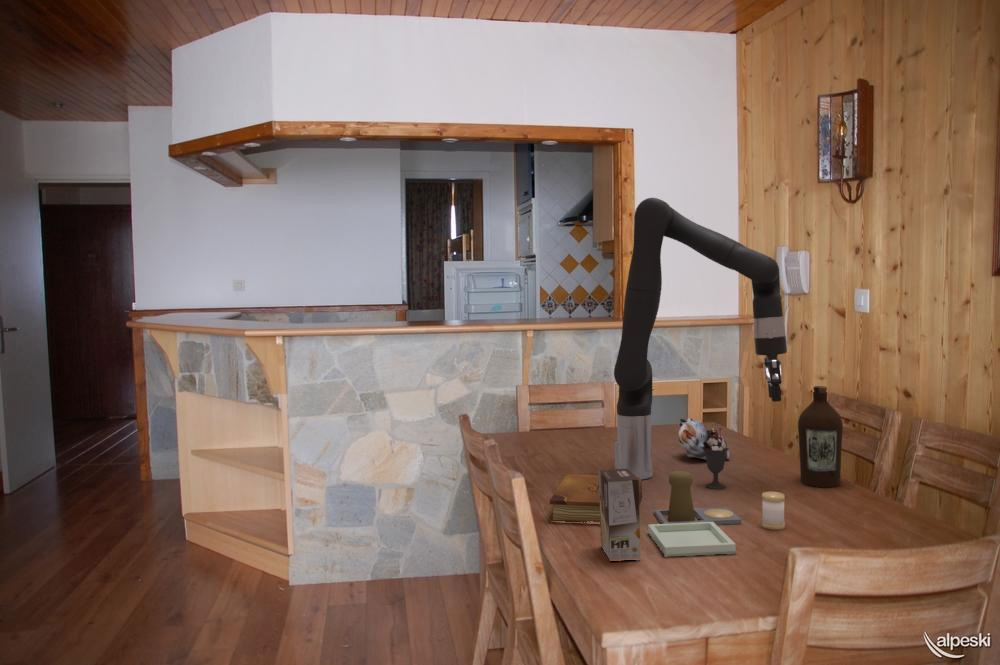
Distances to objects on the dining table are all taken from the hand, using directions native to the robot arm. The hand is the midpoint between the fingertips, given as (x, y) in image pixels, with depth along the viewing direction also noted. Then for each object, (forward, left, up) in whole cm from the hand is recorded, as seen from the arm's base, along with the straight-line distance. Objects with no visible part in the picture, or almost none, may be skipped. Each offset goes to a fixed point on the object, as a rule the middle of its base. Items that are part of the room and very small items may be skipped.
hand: (775, 399), depth 195 cm
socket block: (0, -35, -23) cm, 42 cm away
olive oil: (+7, +11, -23) cm, 26 cm away
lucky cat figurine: (-30, +15, -23) cm, 41 cm away
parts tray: (+8, -49, -23) cm, 55 cm away
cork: (-2, -38, -23) cm, 44 cm away
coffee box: (+1, -63, -23) cm, 67 cm away
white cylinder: (+15, -28, -23) cm, 39 cm away
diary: (-21, -44, -23) cm, 54 cm away
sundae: (-11, -9, -23) cm, 27 cm away
